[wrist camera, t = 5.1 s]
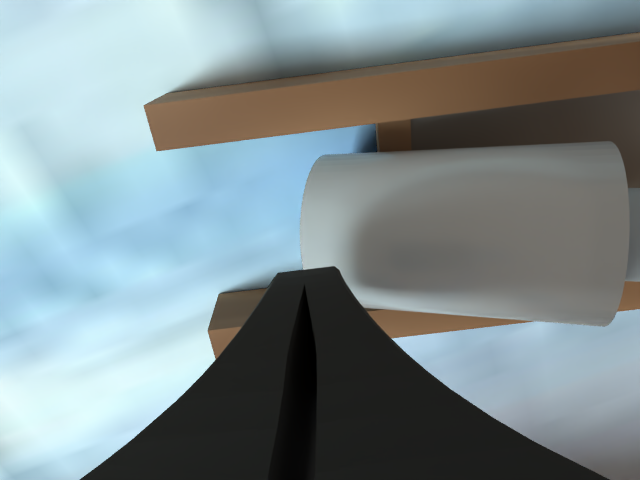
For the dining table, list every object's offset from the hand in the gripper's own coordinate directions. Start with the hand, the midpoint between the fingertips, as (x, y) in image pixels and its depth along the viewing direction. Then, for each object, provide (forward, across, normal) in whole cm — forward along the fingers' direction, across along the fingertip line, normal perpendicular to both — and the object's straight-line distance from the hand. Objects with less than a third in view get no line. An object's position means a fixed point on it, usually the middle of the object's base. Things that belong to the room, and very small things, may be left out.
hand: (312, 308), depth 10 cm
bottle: (+4, -1, 0) cm, 4 cm away
